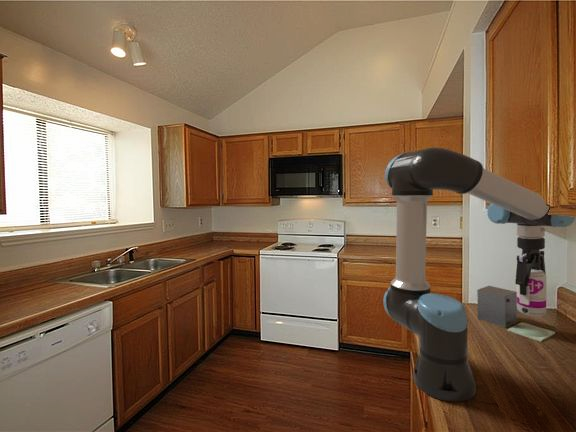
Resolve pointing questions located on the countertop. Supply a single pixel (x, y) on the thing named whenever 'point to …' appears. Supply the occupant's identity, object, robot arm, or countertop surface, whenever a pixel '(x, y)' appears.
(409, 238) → the robot arm
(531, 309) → the supplement can
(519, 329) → the pad
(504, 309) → the box
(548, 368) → the countertop surface
